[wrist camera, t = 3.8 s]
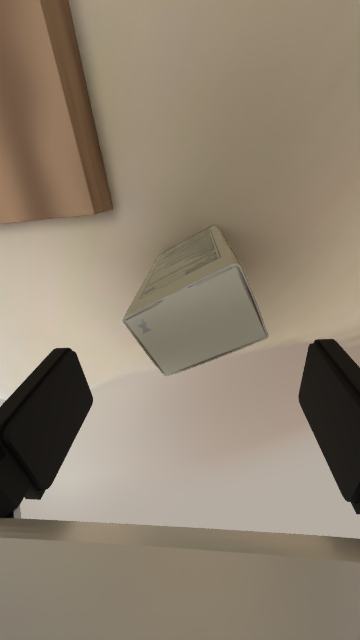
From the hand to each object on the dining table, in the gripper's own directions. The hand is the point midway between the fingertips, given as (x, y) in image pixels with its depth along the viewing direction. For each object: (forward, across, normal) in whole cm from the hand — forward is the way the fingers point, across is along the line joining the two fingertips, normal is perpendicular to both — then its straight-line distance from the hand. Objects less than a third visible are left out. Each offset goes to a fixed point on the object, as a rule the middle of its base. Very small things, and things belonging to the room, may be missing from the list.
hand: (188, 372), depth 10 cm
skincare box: (+15, 0, -1) cm, 15 cm away
